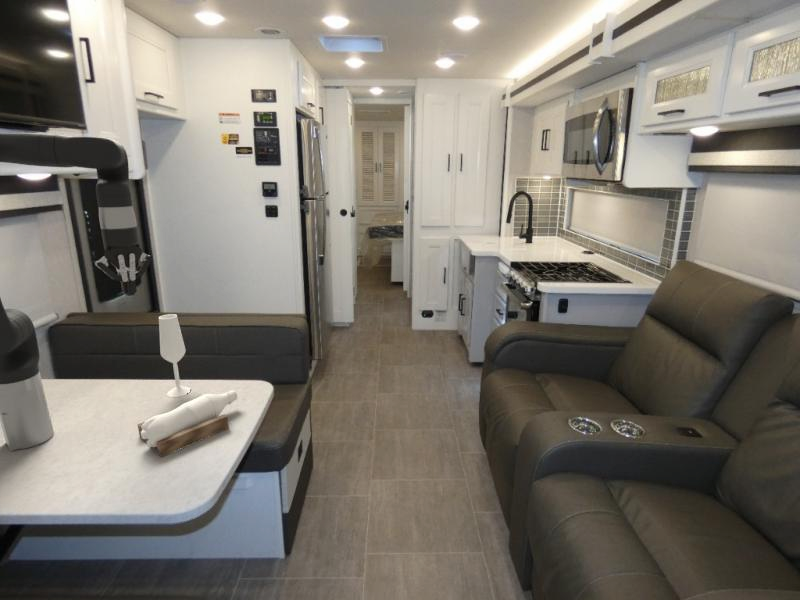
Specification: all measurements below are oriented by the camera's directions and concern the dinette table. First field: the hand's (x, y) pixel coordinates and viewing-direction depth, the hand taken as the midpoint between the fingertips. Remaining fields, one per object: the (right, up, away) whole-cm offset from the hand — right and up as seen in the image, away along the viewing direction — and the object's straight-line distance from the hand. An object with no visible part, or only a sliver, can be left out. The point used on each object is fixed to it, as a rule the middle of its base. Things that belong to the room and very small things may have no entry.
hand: (130, 295), depth 117 cm
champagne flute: (+1, -29, +25) cm, 38 cm away
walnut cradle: (+12, -35, +3) cm, 37 cm away
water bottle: (+7, -34, -7) cm, 35 cm away
